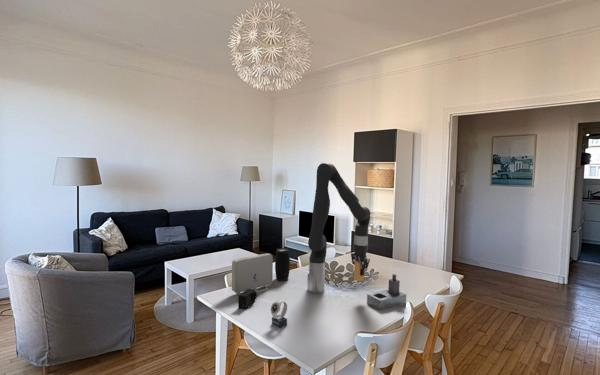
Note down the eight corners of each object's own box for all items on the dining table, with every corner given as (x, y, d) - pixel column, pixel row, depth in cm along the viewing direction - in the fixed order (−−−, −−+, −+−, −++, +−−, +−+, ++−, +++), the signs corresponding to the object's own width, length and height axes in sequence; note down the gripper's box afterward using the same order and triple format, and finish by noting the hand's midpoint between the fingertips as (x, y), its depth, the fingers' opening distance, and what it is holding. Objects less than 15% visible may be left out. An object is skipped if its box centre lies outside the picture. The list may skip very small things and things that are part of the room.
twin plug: (393, 300, 177) (394, 276, 176) (388, 297, 181) (388, 274, 180) (398, 298, 179) (399, 275, 178) (393, 296, 183) (394, 273, 182)
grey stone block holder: (379, 310, 169) (380, 300, 168) (367, 303, 177) (367, 293, 177) (406, 303, 178) (406, 294, 177) (392, 297, 186) (392, 288, 186)
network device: (237, 298, 181) (237, 262, 180) (229, 293, 187) (229, 258, 186) (274, 287, 198) (275, 254, 196) (266, 283, 204) (266, 251, 203)
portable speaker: (289, 281, 209) (290, 251, 208) (274, 281, 208) (275, 251, 207) (289, 276, 217) (289, 247, 216) (274, 277, 217) (275, 247, 215)
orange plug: (358, 281, 179) (359, 257, 178) (353, 279, 183) (355, 256, 182) (364, 280, 181) (365, 257, 180) (359, 278, 184) (360, 255, 184)
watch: (268, 325, 150) (268, 301, 150) (281, 319, 156) (282, 297, 155) (276, 329, 146) (276, 305, 146) (289, 324, 152) (290, 300, 151)
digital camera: (247, 310, 166) (247, 296, 165) (238, 308, 168) (238, 295, 167) (257, 302, 176) (257, 289, 175) (247, 301, 177) (248, 288, 177)
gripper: (347, 241, 185) (346, 271, 186) (363, 247, 172) (362, 279, 173) (358, 240, 188) (356, 269, 190) (374, 245, 176) (373, 277, 177)
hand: (359, 273), depth 182 cm, fingers closed on orange plug, 4 cm apart
